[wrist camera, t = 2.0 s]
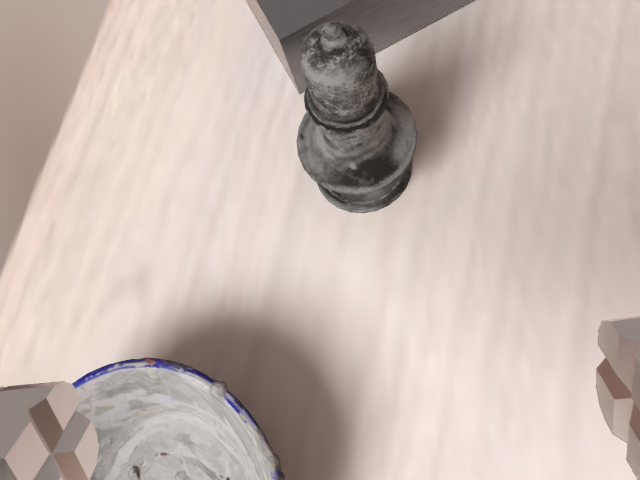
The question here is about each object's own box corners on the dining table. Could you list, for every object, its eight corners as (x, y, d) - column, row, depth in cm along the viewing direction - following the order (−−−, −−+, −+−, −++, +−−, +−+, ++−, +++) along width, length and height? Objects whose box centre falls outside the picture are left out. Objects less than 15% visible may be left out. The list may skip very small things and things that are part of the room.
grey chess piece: (342, 104, 32) (300, -65, 21) (436, 144, 30) (446, -17, 19) (290, 190, 31) (216, 60, 20) (384, 236, 29) (362, 125, 18)
